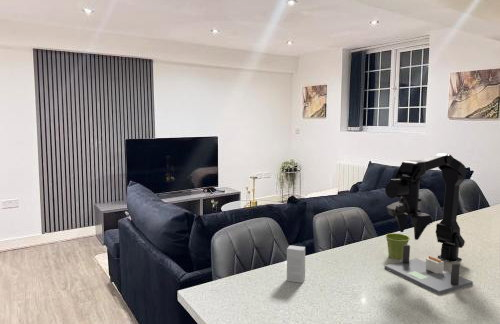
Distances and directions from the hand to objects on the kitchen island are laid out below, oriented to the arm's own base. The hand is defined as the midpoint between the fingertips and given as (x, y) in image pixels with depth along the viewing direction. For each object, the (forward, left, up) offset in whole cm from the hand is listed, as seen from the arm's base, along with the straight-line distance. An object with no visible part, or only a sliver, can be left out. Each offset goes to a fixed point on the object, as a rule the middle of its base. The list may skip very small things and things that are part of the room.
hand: (408, 235), depth 144 cm
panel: (-2, +7, -14) cm, 16 cm away
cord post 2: (-3, +17, -13) cm, 22 cm away
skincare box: (+43, -11, -14) cm, 46 cm away
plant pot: (-7, -12, -14) cm, 20 cm away
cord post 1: (-3, -4, -12) cm, 14 cm away
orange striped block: (-6, +7, -12) cm, 15 cm away
